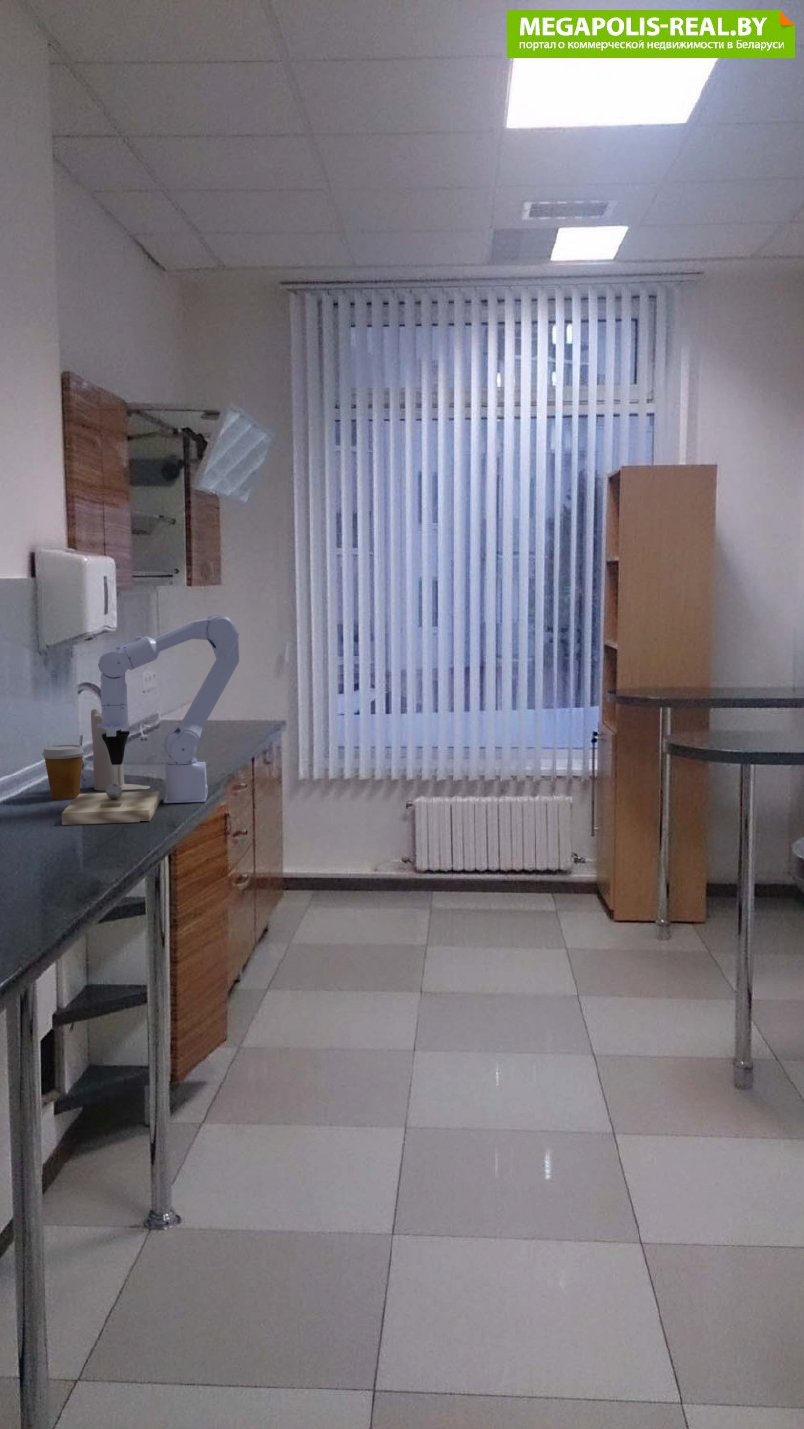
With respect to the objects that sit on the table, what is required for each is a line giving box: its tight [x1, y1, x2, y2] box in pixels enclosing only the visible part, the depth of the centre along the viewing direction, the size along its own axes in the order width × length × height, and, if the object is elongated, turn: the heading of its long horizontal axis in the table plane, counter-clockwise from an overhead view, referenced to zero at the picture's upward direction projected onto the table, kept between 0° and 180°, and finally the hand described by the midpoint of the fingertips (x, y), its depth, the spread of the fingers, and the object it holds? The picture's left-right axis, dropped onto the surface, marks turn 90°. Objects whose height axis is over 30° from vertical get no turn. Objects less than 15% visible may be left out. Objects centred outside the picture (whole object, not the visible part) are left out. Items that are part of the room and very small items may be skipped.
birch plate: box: [61, 790, 161, 826], centre depth 250 cm, size 18×22×2 cm
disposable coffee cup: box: [41, 744, 85, 801], centre depth 269 cm, size 10×10×12 cm
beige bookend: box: [90, 708, 151, 792], centre depth 279 cm, size 7×14×20 cm, turn 88°
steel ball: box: [105, 784, 123, 800], centre depth 252 cm, size 4×4×4 cm
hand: (117, 764), depth 258 cm, fingers closed
